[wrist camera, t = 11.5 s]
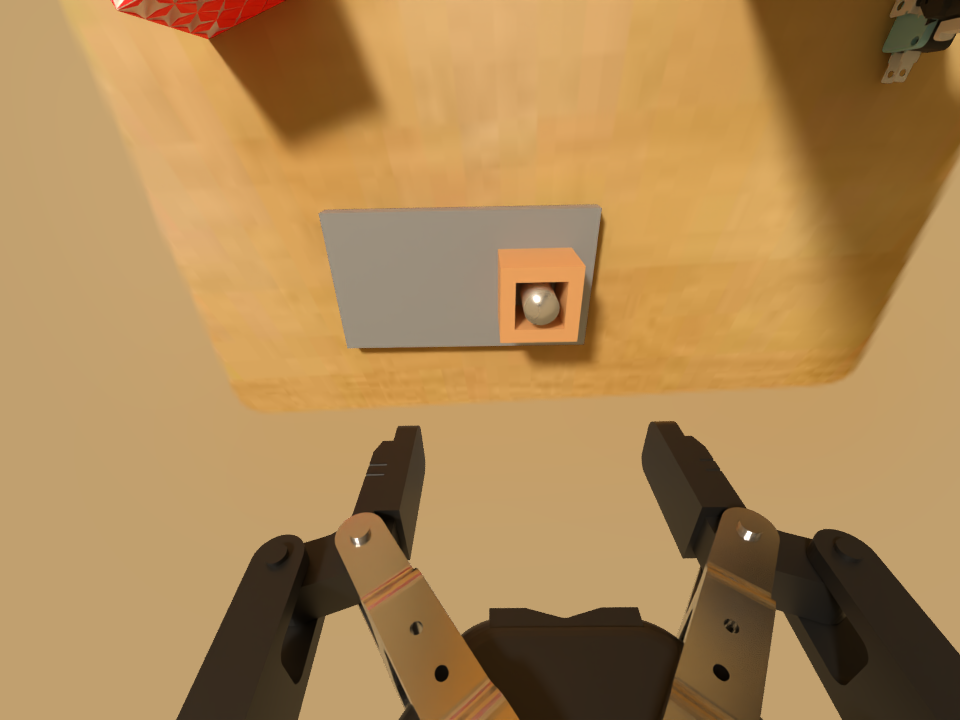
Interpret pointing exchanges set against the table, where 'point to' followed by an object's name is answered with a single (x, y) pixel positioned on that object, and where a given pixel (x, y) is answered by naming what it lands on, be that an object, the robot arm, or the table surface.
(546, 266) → the collar
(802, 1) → the table surface
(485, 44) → the table surface
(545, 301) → the steel post
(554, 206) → the base plate
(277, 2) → the red white patterned cube
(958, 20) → the push button
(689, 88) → the table surface
